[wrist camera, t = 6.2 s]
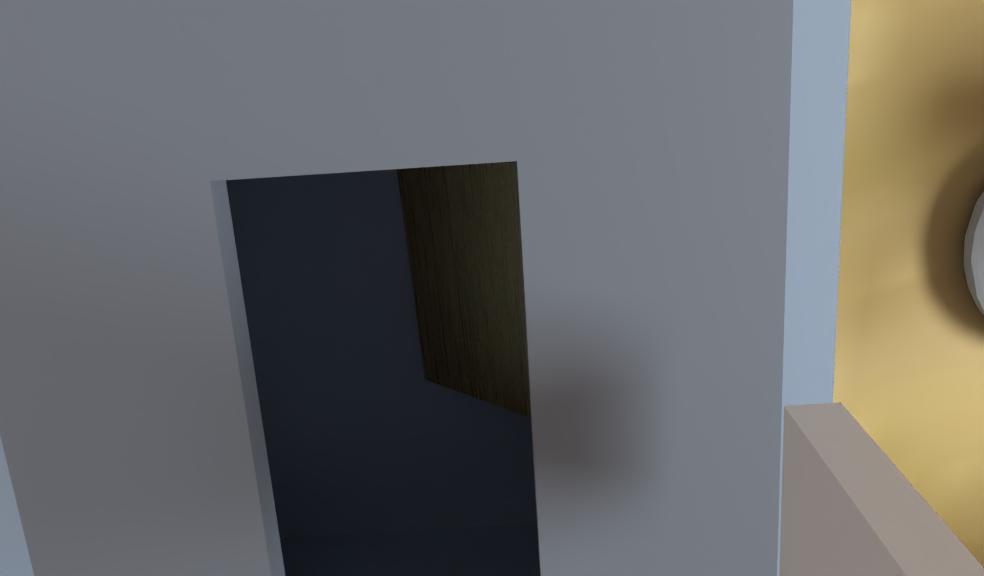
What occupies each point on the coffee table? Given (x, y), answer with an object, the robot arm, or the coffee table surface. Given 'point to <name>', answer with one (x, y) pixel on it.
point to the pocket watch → (975, 254)
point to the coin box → (409, 283)
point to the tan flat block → (468, 279)
